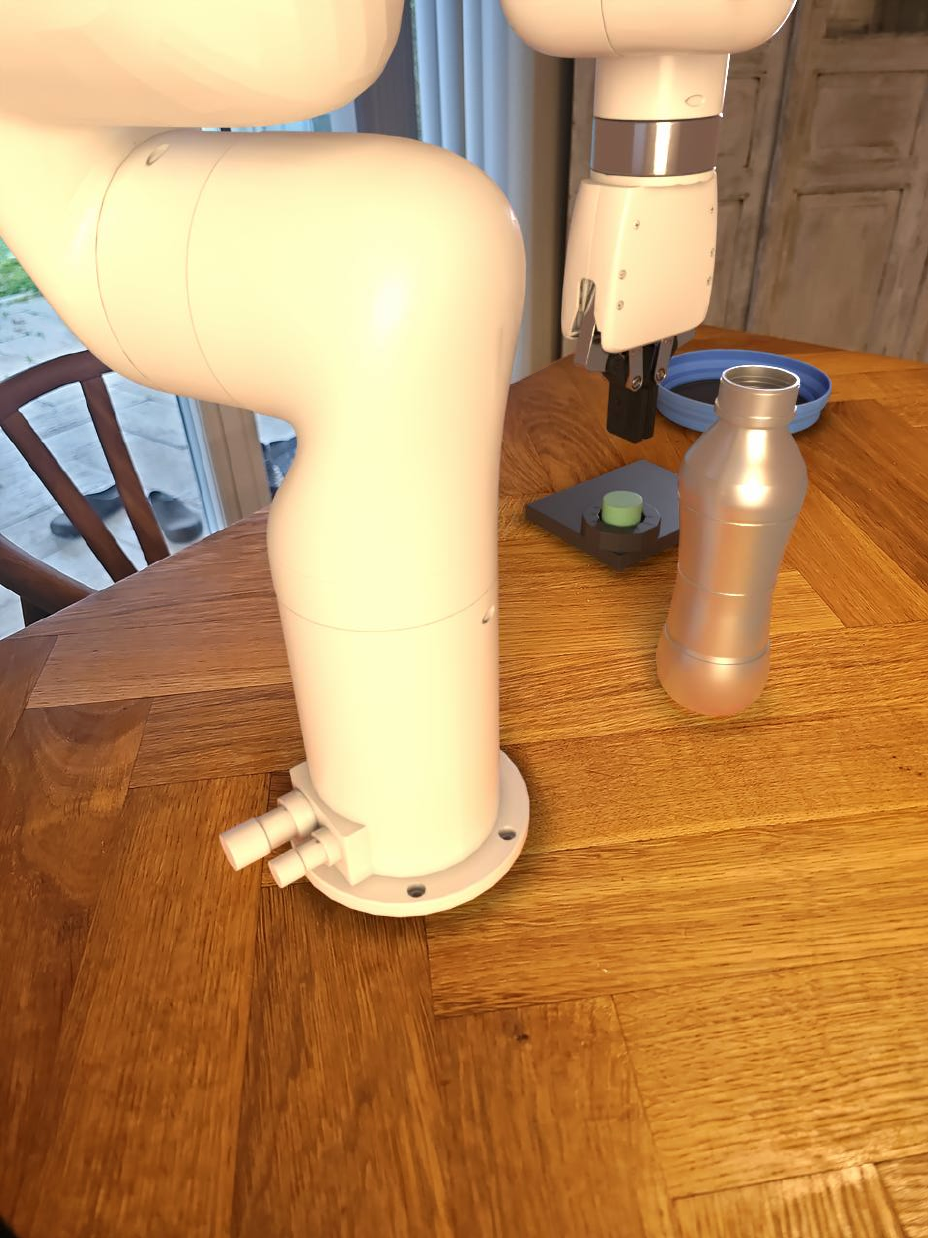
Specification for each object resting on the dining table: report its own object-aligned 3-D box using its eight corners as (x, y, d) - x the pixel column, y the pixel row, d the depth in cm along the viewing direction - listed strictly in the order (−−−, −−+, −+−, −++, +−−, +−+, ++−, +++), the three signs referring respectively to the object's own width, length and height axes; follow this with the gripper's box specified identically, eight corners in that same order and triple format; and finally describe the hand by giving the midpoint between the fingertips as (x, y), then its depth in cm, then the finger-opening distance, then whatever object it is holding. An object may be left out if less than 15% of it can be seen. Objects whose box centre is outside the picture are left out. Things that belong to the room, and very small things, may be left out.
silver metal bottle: (721, 747, 49) (787, 413, 37) (629, 691, 53) (662, 377, 41) (783, 697, 52) (861, 377, 41) (692, 648, 56) (739, 347, 45)
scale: (618, 576, 64) (621, 542, 62) (521, 520, 71) (521, 488, 70) (742, 518, 71) (748, 485, 69) (641, 472, 78) (644, 442, 77)
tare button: (621, 532, 64) (622, 512, 63) (593, 518, 66) (594, 498, 65) (648, 520, 65) (650, 500, 64) (620, 506, 67) (622, 486, 66)
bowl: (620, 420, 89) (623, 387, 87) (688, 369, 101) (692, 339, 99) (794, 457, 80) (801, 421, 78) (845, 397, 92) (853, 365, 90)
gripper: (689, 133, 57) (661, 396, 68) (518, 158, 50) (517, 447, 61) (783, 142, 52) (737, 424, 63) (608, 171, 45) (590, 483, 56)
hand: (629, 434), depth 62 cm, fingers closed
